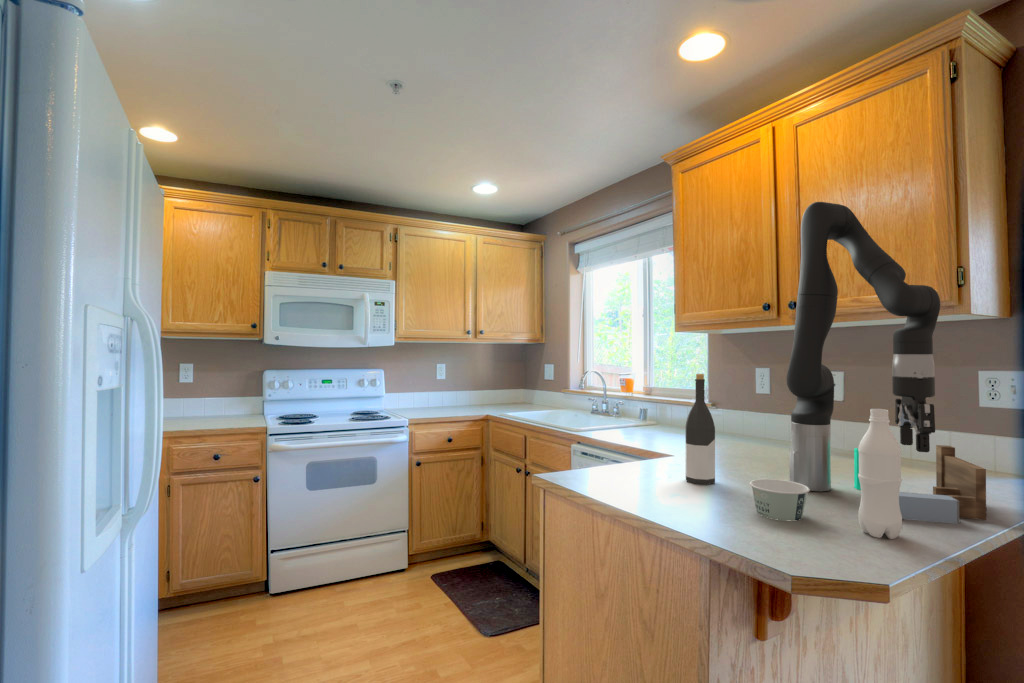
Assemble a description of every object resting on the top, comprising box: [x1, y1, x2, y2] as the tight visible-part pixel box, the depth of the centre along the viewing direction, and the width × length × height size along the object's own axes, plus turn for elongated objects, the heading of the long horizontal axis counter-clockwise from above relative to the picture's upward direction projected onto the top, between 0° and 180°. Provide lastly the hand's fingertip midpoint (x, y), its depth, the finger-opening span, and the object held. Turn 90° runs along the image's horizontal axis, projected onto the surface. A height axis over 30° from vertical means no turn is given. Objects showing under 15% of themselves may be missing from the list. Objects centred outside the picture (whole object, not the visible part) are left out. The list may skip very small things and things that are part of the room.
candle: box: [853, 447, 861, 491], centre depth 140 cm, size 6×6×12 cm
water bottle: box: [857, 408, 903, 540], centre depth 106 cm, size 7×7×25 cm
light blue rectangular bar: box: [899, 491, 960, 525], centre depth 117 cm, size 14×4×5 cm, turn 71°
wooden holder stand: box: [932, 444, 987, 521], centre depth 125 cm, size 7×18×13 cm, turn 162°
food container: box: [749, 478, 811, 521], centre depth 119 cm, size 12×12×7 cm
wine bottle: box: [685, 373, 716, 486], centre depth 148 cm, size 8×8×30 cm
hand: (914, 448), depth 117 cm, fingers open, 8 cm apart
